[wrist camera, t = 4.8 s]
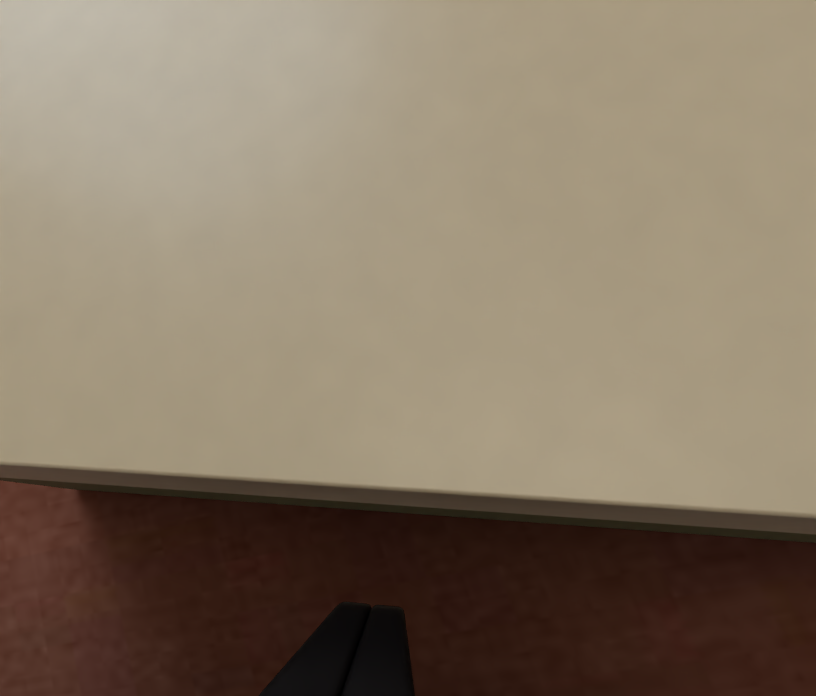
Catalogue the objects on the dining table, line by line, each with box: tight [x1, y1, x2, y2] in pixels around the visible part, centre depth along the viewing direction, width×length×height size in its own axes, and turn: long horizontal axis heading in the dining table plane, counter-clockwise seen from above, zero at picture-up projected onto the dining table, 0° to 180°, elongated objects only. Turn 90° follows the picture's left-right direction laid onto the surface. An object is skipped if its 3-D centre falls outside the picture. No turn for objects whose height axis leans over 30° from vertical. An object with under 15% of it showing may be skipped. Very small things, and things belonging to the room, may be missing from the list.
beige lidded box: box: [0, 0, 816, 543], centre depth 14 cm, size 16×20×8 cm
